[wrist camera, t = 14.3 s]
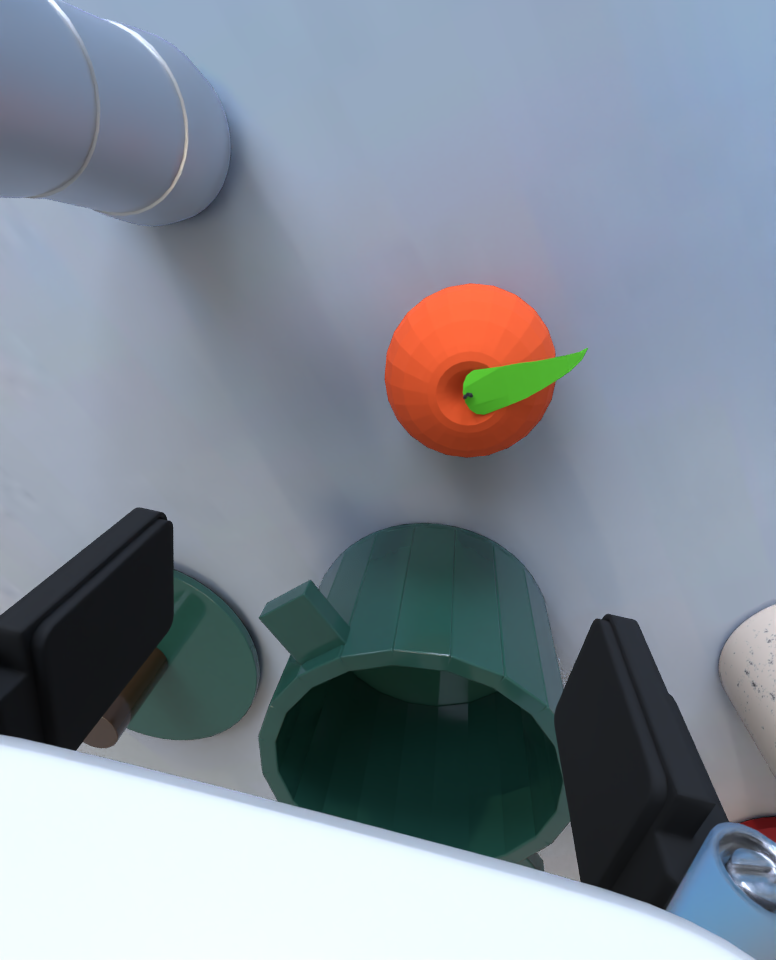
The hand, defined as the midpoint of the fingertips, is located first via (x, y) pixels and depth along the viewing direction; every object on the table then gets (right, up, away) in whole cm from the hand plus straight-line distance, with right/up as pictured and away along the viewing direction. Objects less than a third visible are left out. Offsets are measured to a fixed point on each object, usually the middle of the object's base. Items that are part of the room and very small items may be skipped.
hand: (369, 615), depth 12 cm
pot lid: (-15, -8, +23) cm, 29 cm away
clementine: (+5, +9, +13) cm, 17 cm away
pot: (+3, -6, +20) cm, 21 cm away
